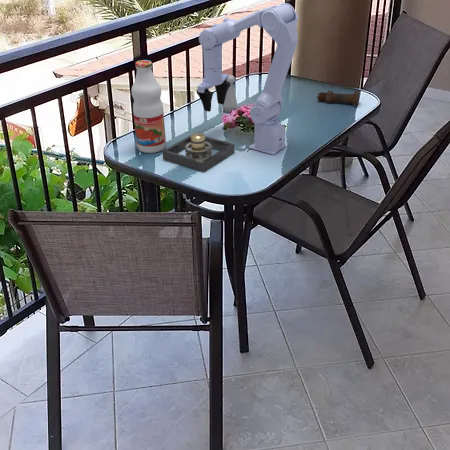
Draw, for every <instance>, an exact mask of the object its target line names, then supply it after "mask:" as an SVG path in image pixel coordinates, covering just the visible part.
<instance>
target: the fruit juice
mask: <svg viewBox="0 0 450 450" xmlns="http://www.w3.org/2000/svg"><path fill="white" fill-rule="evenodd" d="M152 68H153V62H152V61H151V60H149V59H142V60H141V59H140V60H137V61H135V69H136V74H135V78H134V82H133V83H132V86H131V97H132V98H133V103H132V114H133V120H134V122H133V123H134V130H135V139H136V146H137V149H138V151H140V152H142V153H146V154H155V153H159V152H162V151H163V150H165V148H166V146H167V141H166V140H167V139H166V138H167V137H166V127H165V126H166V125H165V117H164V106H163V102H162V100H161V97H162V96H161V95H162V87H161V84H160V83H159V82H158V81H157V79H156V77H155V75H154V72H153V69H152Z"/></svg>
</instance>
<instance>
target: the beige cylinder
mask: <svg viewBox="0 0 450 450" xmlns="http://www.w3.org/2000/svg"><path fill="white" fill-rule="evenodd" d="M190 135H191V139H190V140H191V148H190V149H191V150H194V151H200V150H205V148H206V147H205V136H206V135H205V133H202V132H195V133H191V134H190ZM206 155H207V154H206ZM206 155H202V157H203V156H206ZM191 156H193V157H199V156H194V155H191Z"/></svg>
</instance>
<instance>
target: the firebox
mask: <svg viewBox="0 0 450 450" xmlns="http://www.w3.org/2000/svg"><path fill="white" fill-rule="evenodd" d="M191 135H192V134H190V135H188V136H187V137H184V138H183V139H181V140H180V141H177V142H175V143H174V144H172V145H170V146H168V147H167V148H166V149H165V148H164V149H163V150H162V151H161V152H162V159H163V161H167V162H168V163H173V164H176V165H179V166H183V167H185V168H189V169H191V170H196V171H198V172H202V173H206V172H207V171H209V170H210V169H212V168H213V167H215V166H216V165H218V164H219V163H221V162H223V161H224V160H225V159H227V158H228V157H230V156H232V155H234V154H235V143H231V142H227V141H224V140H221V139H217V138H213V137H209V136H206V135H205V150H200V151H194V150H191V140H190V139H191ZM213 150H217V152H215V153H213ZM183 151H184V152H185V155H184V154H180V153H181V152H183ZM192 155H194V156H199V157H193V156H192ZM202 155H206V156H203V157H202Z"/></svg>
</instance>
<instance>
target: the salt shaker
mask: <svg viewBox="0 0 450 450" xmlns="http://www.w3.org/2000/svg"><path fill="white" fill-rule="evenodd" d="M228 75H229V80H228V81H227V82H230V87H229V88H228V91H227V94H226V97H225V102H224V104H220V105H221V107H222V110H223V111H224V113H231V112H230V111H231V110H234V109H235V110H236V109H237V106H238V101H237V96H236V91H235V86H234V83H235V81H236V78H235V76H234V75H232V74H228Z"/></svg>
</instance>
